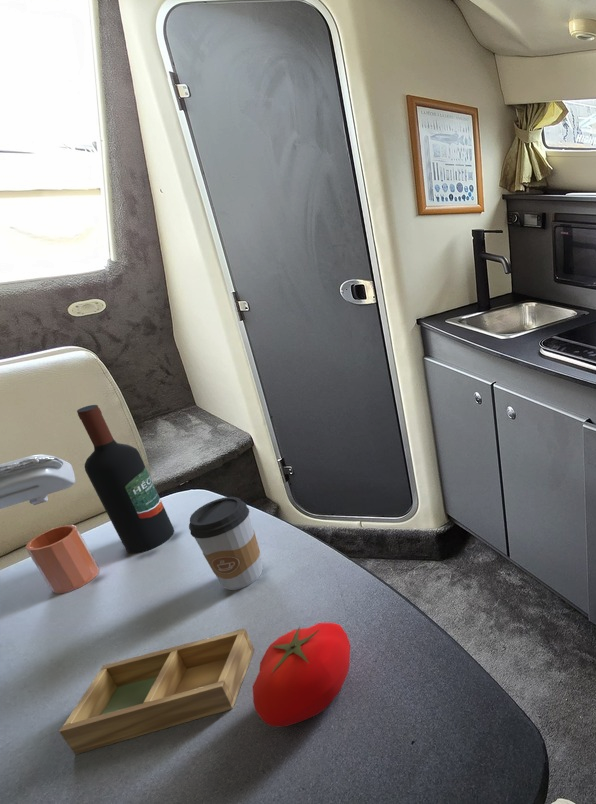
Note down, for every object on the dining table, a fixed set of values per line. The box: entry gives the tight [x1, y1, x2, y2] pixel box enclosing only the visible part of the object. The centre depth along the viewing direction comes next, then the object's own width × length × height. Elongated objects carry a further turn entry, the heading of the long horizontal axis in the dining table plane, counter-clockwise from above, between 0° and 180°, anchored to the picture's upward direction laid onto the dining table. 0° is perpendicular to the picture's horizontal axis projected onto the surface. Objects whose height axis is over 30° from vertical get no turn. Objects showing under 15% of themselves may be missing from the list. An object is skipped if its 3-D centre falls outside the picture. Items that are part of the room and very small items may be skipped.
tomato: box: [252, 622, 351, 728], centre depth 67 cm, size 11×13×10 cm
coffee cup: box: [188, 496, 264, 591], centre depth 87 cm, size 8×8×15 cm
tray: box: [58, 628, 255, 755], centre depth 68 cm, size 9×18×5 cm, turn 107°
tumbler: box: [25, 524, 100, 594], centre depth 89 cm, size 6×6×10 cm
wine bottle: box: [76, 404, 175, 554], centre depth 94 cm, size 8×8×30 cm
